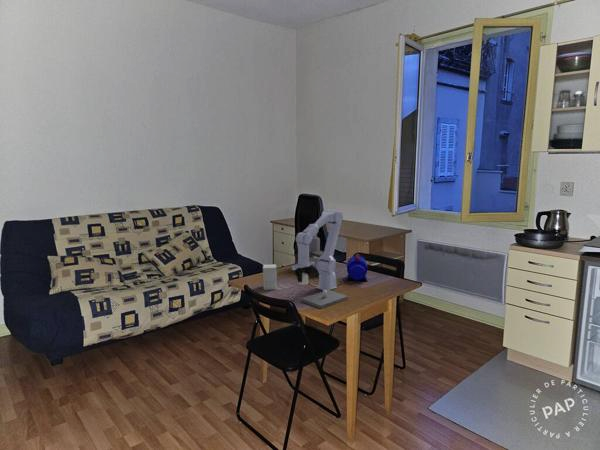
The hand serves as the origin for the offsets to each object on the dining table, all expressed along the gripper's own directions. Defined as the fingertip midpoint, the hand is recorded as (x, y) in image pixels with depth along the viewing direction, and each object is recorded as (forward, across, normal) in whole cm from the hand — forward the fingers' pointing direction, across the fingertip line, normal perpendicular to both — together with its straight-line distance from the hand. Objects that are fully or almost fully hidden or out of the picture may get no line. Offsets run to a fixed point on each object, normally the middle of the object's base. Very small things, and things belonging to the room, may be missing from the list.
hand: (303, 280), depth 218 cm
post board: (+8, +4, -12) cm, 15 cm away
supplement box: (+9, -4, +23) cm, 25 cm away
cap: (+1, 0, 0) cm, 1 cm away
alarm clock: (+9, +44, 0) cm, 45 cm away
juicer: (+9, +39, +32) cm, 51 cm away
